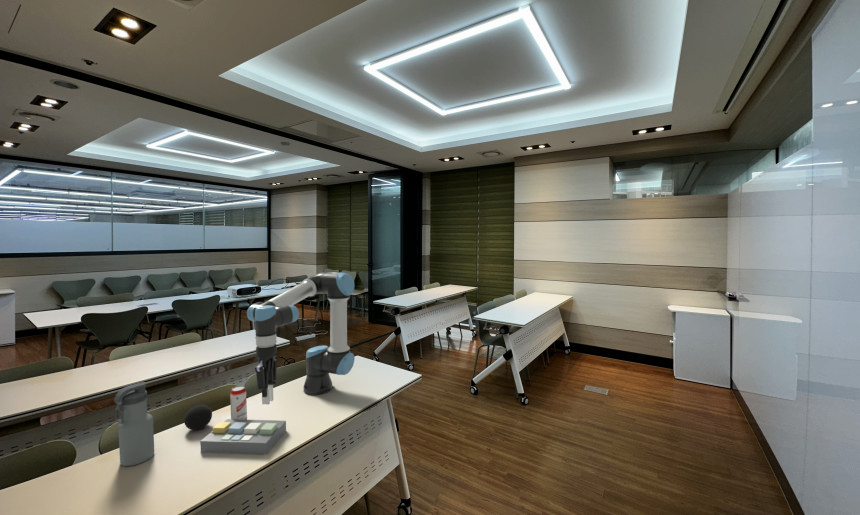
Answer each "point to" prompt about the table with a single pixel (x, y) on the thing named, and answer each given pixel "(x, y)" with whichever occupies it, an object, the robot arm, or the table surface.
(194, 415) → the speaker
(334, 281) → the robot arm
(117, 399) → the water bottle
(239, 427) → the key slate
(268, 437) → the keypad
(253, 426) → the key ivory
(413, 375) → the table surface
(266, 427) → the key sage
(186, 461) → the table surface
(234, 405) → the beer can
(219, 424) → the key mustard
